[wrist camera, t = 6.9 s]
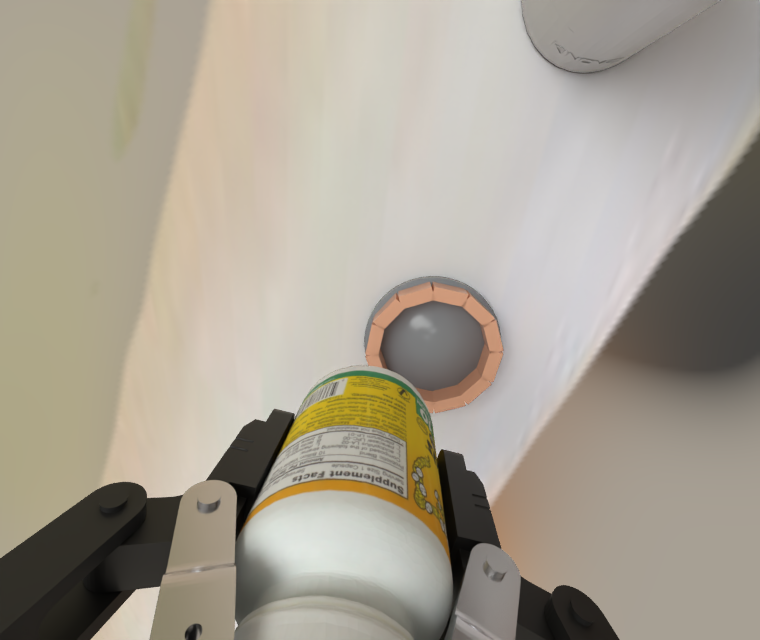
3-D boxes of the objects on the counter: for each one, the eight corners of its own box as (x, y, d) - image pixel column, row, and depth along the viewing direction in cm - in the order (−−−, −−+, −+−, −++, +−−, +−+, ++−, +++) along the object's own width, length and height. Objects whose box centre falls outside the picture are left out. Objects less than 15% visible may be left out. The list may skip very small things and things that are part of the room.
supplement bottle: (310, 349, 14) (139, 628, 5) (445, 374, 14) (526, 699, 5) (296, 460, 16) (151, 818, 7) (416, 483, 16) (436, 871, 7)
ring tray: (380, 262, 28) (378, 268, 26) (516, 292, 28) (527, 301, 26) (354, 384, 32) (350, 399, 29) (475, 410, 32) (481, 428, 29)
